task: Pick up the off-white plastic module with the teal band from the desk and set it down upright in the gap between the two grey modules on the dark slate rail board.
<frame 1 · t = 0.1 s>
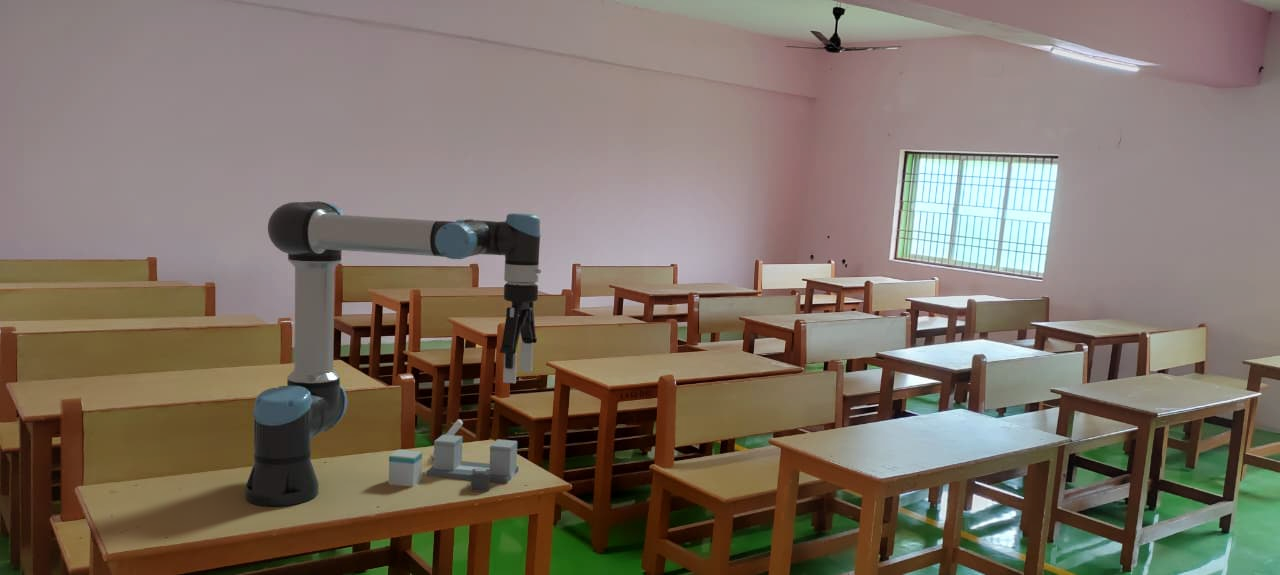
hand: (517, 376, 209), 28 cm above the table, fingers open, 13 cm apart
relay: (480, 488, 217), on the table
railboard: (473, 473, 227), on the table
module: (405, 482, 218), on the table
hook: (447, 457, 241), on the table
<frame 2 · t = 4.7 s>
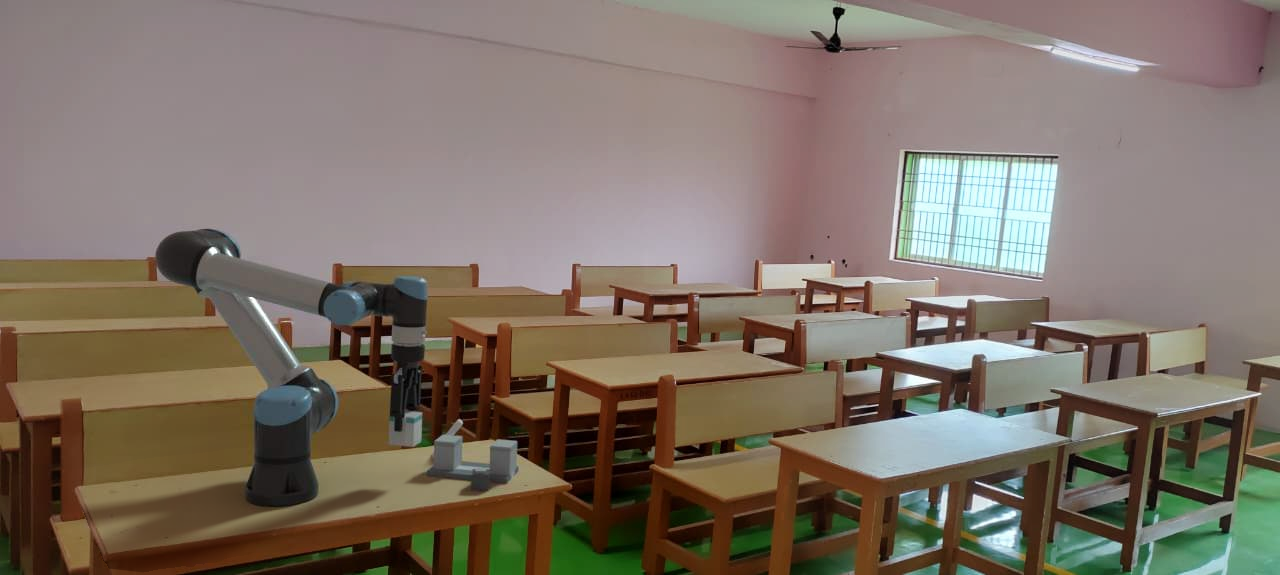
hand: (403, 440, 217), 10 cm above the table, fingers closed on module, 5 cm apart
module: (405, 442, 217), point 9 cm above the table, touching gripper
everything else where it was.
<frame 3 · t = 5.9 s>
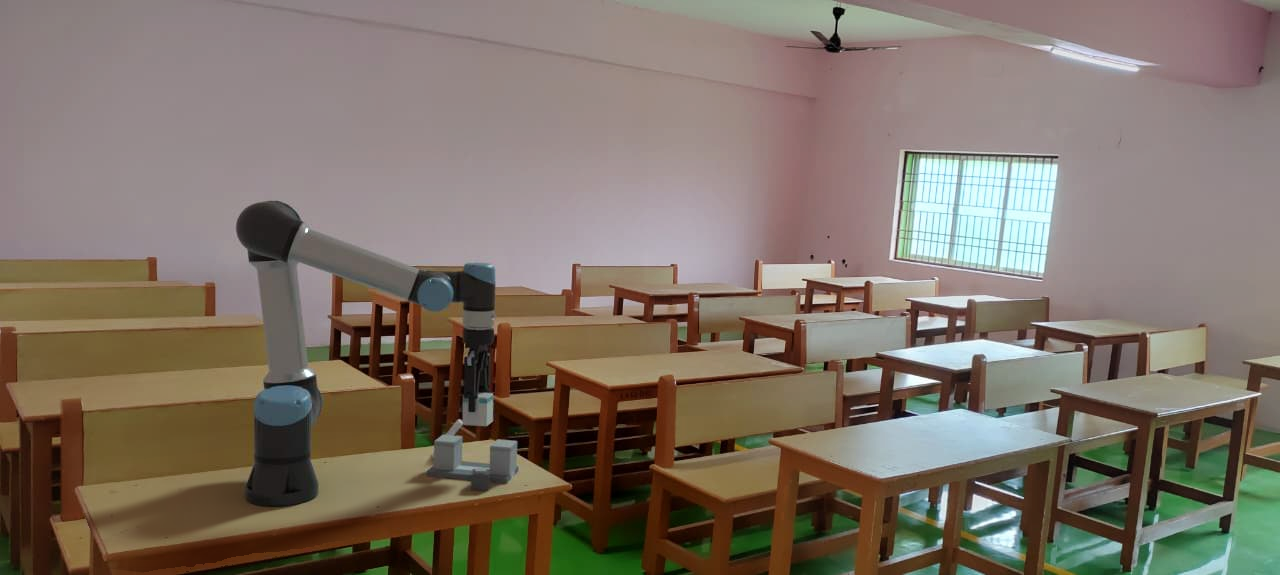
hand: (476, 421, 226), 13 cm above the table, fingers closed on module, 5 cm apart
module: (477, 423, 226), point 13 cm above the table, touching gripper
everything else where it was.
when the fingers open (2 cm above the table, at t = 7.6 s): module stays where it is, resting on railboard.
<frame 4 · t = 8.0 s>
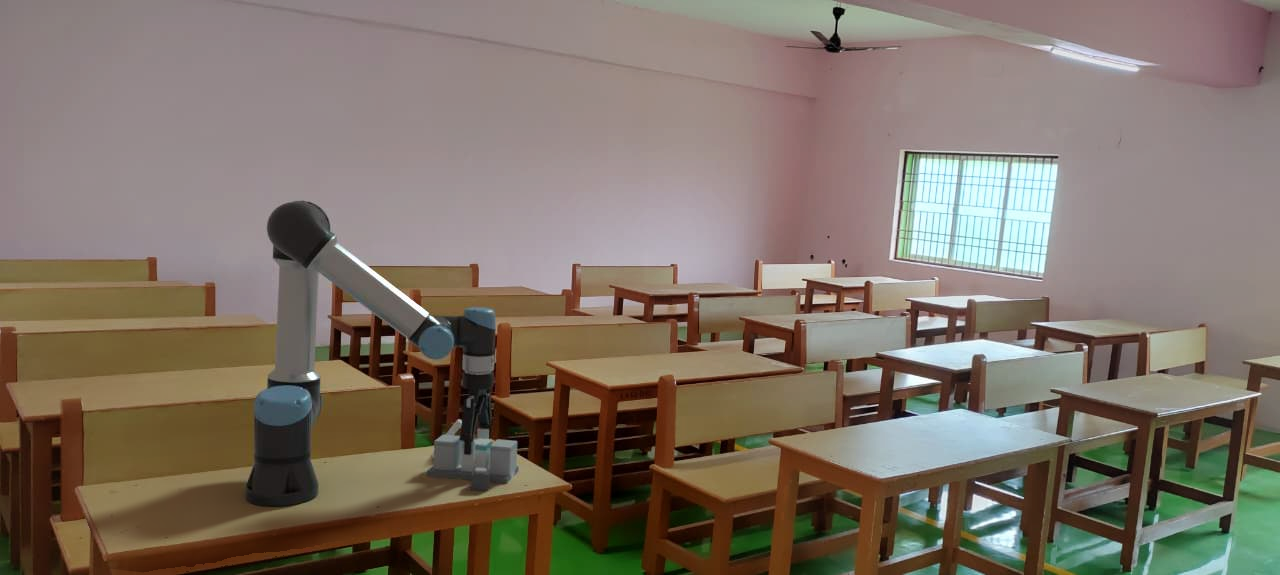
hand: (475, 460, 227), 3 cm above the table, fingers open, 10 cm apart
module: (476, 468, 227), point 1 cm above the table, touching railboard
everything else where it was.
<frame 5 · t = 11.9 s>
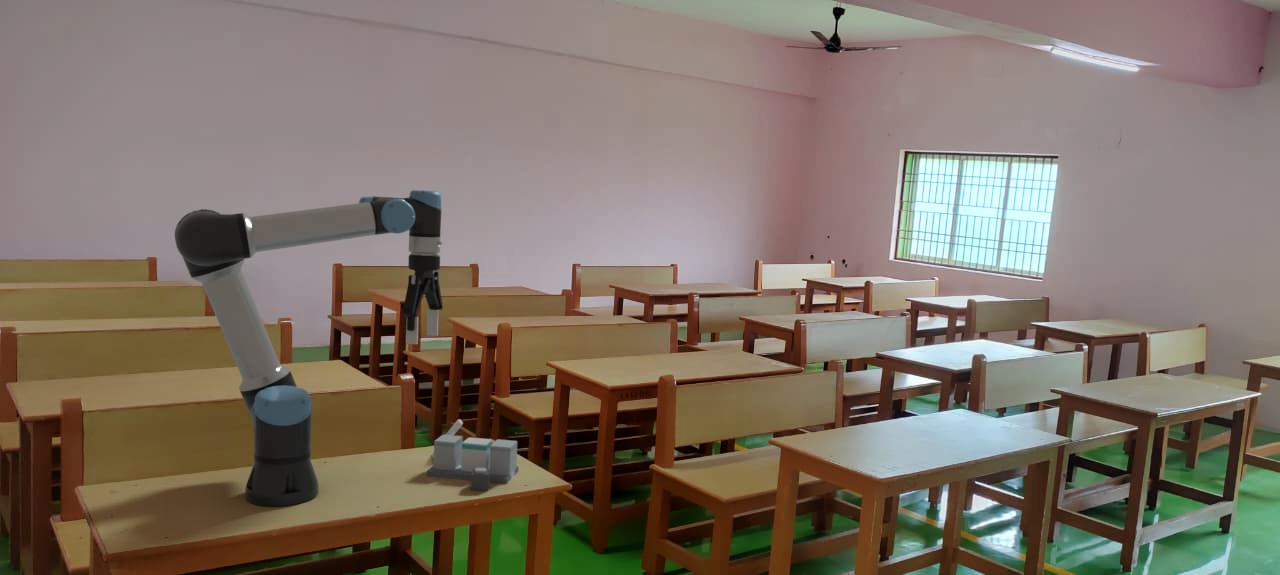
hand: (422, 339, 229), 32 cm above the table, fingers open, 13 cm apart
nothing on the table moved.
at the end: module 0.3 cm off-centre on the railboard, point 1.2 cm above the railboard's base; module tilted 0°; the gripper is holding nothing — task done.
